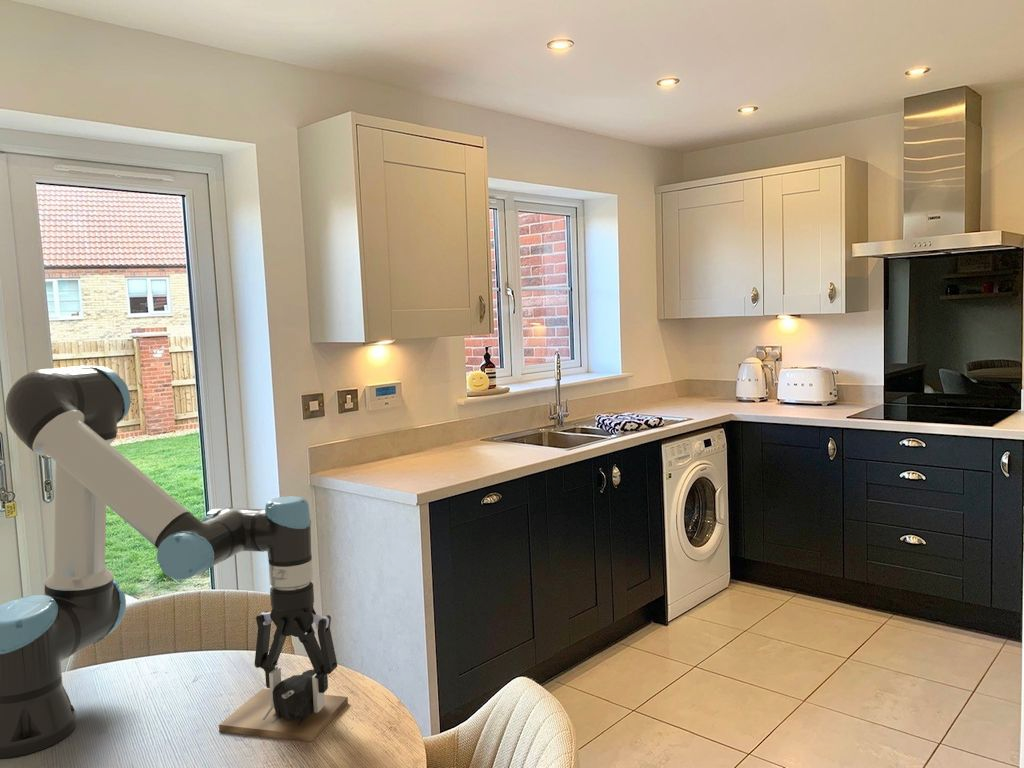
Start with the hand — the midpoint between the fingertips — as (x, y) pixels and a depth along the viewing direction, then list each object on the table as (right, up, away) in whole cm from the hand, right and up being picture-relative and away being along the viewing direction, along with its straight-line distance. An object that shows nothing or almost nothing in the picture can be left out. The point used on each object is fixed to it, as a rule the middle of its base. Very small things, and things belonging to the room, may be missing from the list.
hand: (297, 706), depth 143 cm
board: (-2, -2, +1) cm, 3 cm away
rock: (0, -1, 0) cm, 1 cm away
